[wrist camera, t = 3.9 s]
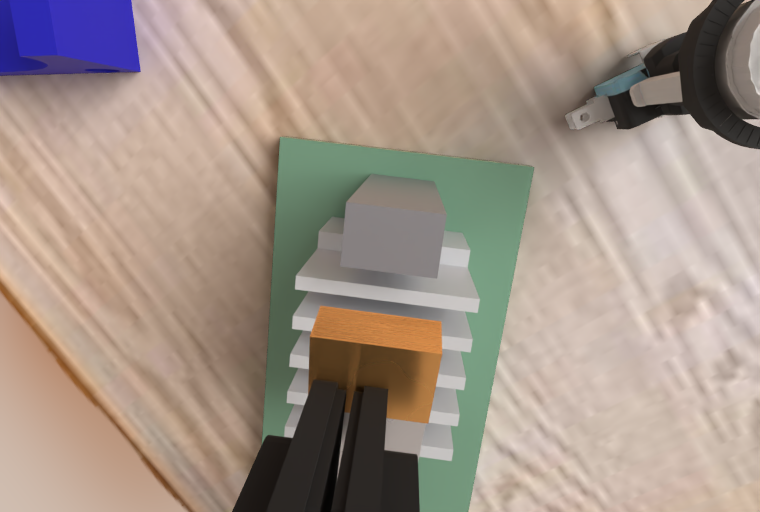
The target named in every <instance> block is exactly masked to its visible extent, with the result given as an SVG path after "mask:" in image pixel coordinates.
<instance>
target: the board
mask: <svg viewBox="0 0 760 512" xmlns="http://www.w3.org/2000/svg"><path fill="white" fill-rule="evenodd" d="M533 171H534V167H532V166H529V165H520V164H512V163H504V162H495V161H487V160H478V159H470V158H462V157H453V156H445V155H436V154H428V153H420V152H411V151H403V150H394V149H386V148H378V147H369V146H361V145H352V144H344V143H336V142H327V141H319V140H311V139H302V138H294V137H280V147H279V164H278V181H277V198H276V215H275V231H274V248H273V265H272V282H271V299H270V316H269V333H268V349H267V366H266V383H265V400H264V417H263V434H262V444H263V441H264V440H265V438H266V436H267V435H274V436H282V437H290V438H293V436H294V433H295V430H296V427H297V424H298V422H299V419H300V416H301V413H302V410H303V408H304V405H305V402H306V399H307V396H308V379H309V345H310V334H311V331H312V329H313V326H314V323H315V320H316V317H317V314H318V311H319V308H320V306H327V307H335V308H342V309H350V310H358V311H365V312H373V313H381V314H388V315H396V316H404V317H411V318H419V319H427V320H434V321H441V324H442V358H441V363H440V368H439V373H438V378H437V383H436V388H435V393H434V398H433V403H432V408H431V413H430V418H429V423H428V424H426V425H425V430H424V435H423V440H422V445H421V450H420V455H419V460H418V475H419V503H420V512H468V510H469V505H470V500H471V494H472V489H473V484H474V479H475V474H476V468H477V463H478V458H479V453H480V448H481V442H482V437H483V432H484V427H485V421H486V416H487V411H488V406H489V401H490V395H491V390H492V385H493V380H494V375H495V369H496V364H497V359H498V354H499V349H500V343H501V338H502V333H503V328H504V322H505V317H506V312H507V307H508V302H509V296H510V291H511V286H512V281H513V276H514V270H515V265H516V260H517V255H518V249H519V244H520V239H521V234H522V229H523V223H524V218H525V213H526V208H527V203H528V197H529V192H530V187H531V182H532V177H533Z"/></svg>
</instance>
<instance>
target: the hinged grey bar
mask: <svg viewBox="0 0 760 512" xmlns="http://www.w3.org/2000/svg"><path fill="white" fill-rule="evenodd" d="M441 358H442V324H441V321H434V320H427V319H419V318H411V317H404V316H396V315H388V314H381V313H373V312H365V311H358V310H350V309H342V308H335V307H327V306H320V308H319V311H318V314H317V317H316V320H315V323H314V326H313V329H312V331H311V334H310V345H309V379H308V394H309V391H310V388H311V385H312V382H313V380H314V379H316V380H323V381H331V382H338V389H342V390H346V402H345V411H344V420H343V429H342V438H341V448H340V457H339V466H338V473H339V468H340V462H341V457H342V452H343V447H344V441H345V436H346V431H347V426H348V421H349V415H350V410H351V405H352V400H353V394H354V391H357V392H364V386H370V387H378V388H385V389H388V403H387V418H386V433H385V449H384V450H389V451H396V452H404V453H411V454H417V456H418V460H419V455H420V450H421V445H422V440H423V435H424V430H425V425H426V424H428V423H429V418H430V413H431V408H432V403H433V398H434V393H435V388H436V383H437V378H438V373H439V368H440V363H441ZM337 478H338V475H337Z"/></svg>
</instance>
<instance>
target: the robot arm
mask: <svg viewBox="0 0 760 512" xmlns="http://www.w3.org/2000/svg"><path fill="white" fill-rule="evenodd" d="M345 402H346V390H342V389H338V382H331V381H323V380H316V379H314V380H313V382H312V385H311V388H310V391H309V394H308V396H307V399H306V402H305V405H304V408H303V410H302V413H301V416H300V419H299V422H298V424H297V427H296V430H295V433H294V436H293V438H290V437H282V436H274V435H267V436H266V438H265V440H264V441H263V444H262V446H261V448H260V450H259V453H258V455H257V457H256V459H255V462H254V464H253V466H252V468H251V471H250V473H249V475H248V477H247V480H246V482H245V484H244V486H243V489H242V491H241V493H240V495H239V498H238V500H237V502H236V504H235V507H234V509H233V511H232V512H420V503H419V475H418V456H417V454H411V453H404V452H396V451H389V450H384V449H385V433H386V418H387V403H388V389H385V388H378V387H370V386H364V392H357V391H354V394H353V400H352V405H351V410H350V415H349V421H348V426H347V431H346V436H345V441H344V447H343V452H342V457H341V462H340V468H339V473H338V466H339V457H340V448H341V438H342V429H343V420H344V411H345ZM337 475H338V478H337Z"/></svg>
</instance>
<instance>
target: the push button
mask: <svg viewBox="0 0 760 512" xmlns="http://www.w3.org/2000/svg"><path fill="white" fill-rule="evenodd" d="M743 1H744V0H713V1H712V2H711V3H710V5H709V6H708V7H707V8H706V9H705V10H704V11H703V12H702V13H701V14H699V15H698V16H697V17H696V18H695V19H694V20H693V21H692V22H691V24H690V26H689V28H688V31H687V32H686V33H682V34H679V35H677V36H674V37H671V38H668V39H666V40H665V39H664V40H662V41H658V42H655V43H653V44H650V45H648V46H645V47H643V48H641V49H639V50H637V51H635V52H633V53H631V54H629V55H627V57H630V56H633V55H636V54H638V53H639V54H640V56H641V58H642V61H643V64H641V65H639V66H637V67H635V68H633V69H631V70H628V71H626V72H624V73H622V74H620V75H618V76H616V77H614V78H612V79H610V80H607V81H605V82H603V83H601V84H599V85H597V86H595V87H594V90H595V92H596V95H597V96H595V97H593V98H591V99H589V100H587V101H586V102H587V104H586V105H584V106H582V107H580V108H578V109H576V110H573V111H571V112H569V113H567V114H566V115H565V118H566V120H567V123H568V125H569V128H570V129H571V130H573V129H575V128H576V129H578V130H580V129H582V128H584V127H586V126H588V125H591V124H593V123H596V122H598V121H600V120H601V123H603V122H605V121H606V122H610V121H615V124H616V127H617V129H631V128H634V127H637V126H639V125H641V124H643V123H646V122H648V121H650V120H652V119H654V118H657V117H663V116H665V115H685V114H691V116H692V117H693V118H694V119H695V121H696V122H697V123H698V124H699V125H700V126H701V127H702V128H705V129H709V130H712V131H714V132H715V133H716V134H718V135H719V136H721V137H722V138H724V139H726V140H728V141H730V142H732V143H734V144H737V145H740V146H744V147H748V148H754V149H760V127H757V126H754V125H751V124H749V123H747V122H745V121H743V120H742V119H760V0H751V1H749V2H746V3H743V4H741V3H742V2H743ZM740 4H741V5H740ZM581 115H582V120H581V119H580V116H581Z"/></svg>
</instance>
